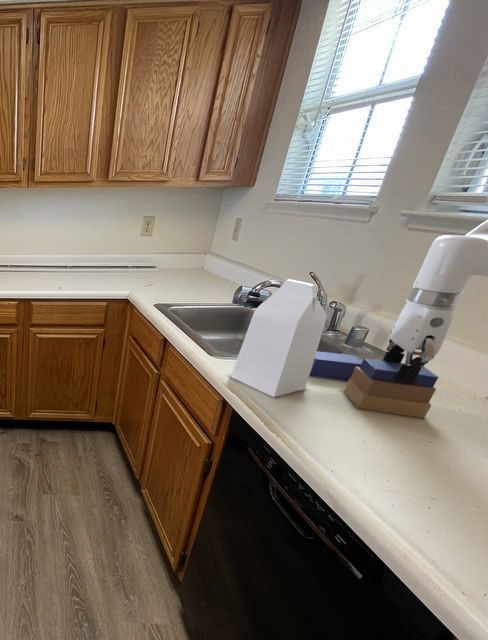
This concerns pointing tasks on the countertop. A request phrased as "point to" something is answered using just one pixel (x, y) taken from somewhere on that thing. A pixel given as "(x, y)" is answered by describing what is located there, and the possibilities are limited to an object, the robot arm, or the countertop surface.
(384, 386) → the tan books
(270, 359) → the milk
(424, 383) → the navy book
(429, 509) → the countertop surface
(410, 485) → the countertop surface
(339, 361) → the navy books
